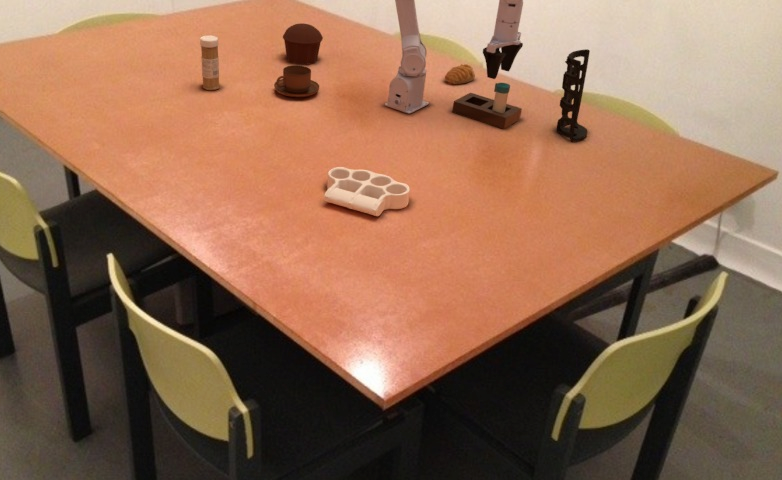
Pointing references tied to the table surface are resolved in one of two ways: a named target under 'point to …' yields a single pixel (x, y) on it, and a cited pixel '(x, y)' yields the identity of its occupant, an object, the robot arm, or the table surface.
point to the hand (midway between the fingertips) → (498, 74)
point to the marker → (501, 97)
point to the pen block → (485, 110)
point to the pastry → (460, 74)
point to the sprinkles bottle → (210, 62)
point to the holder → (573, 96)
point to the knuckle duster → (365, 191)
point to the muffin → (302, 43)
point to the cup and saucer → (296, 82)
